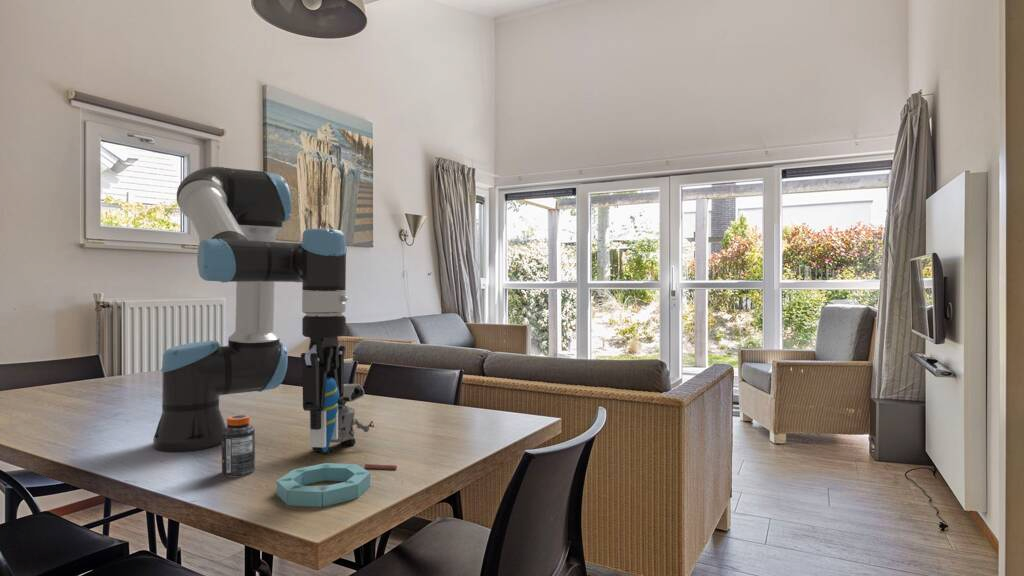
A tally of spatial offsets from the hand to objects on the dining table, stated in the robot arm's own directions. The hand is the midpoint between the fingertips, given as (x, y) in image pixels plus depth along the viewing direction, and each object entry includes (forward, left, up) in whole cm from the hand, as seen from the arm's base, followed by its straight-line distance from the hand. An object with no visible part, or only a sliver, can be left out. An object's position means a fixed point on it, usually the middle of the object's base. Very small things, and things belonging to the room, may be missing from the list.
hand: (324, 442), depth 105 cm
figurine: (-7, +25, -9) cm, 27 cm away
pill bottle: (-21, +7, -9) cm, 24 cm away
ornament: (0, 0, -2) cm, 2 cm away
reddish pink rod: (+6, +13, -9) cm, 17 cm away
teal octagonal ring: (0, 0, -9) cm, 9 cm away
